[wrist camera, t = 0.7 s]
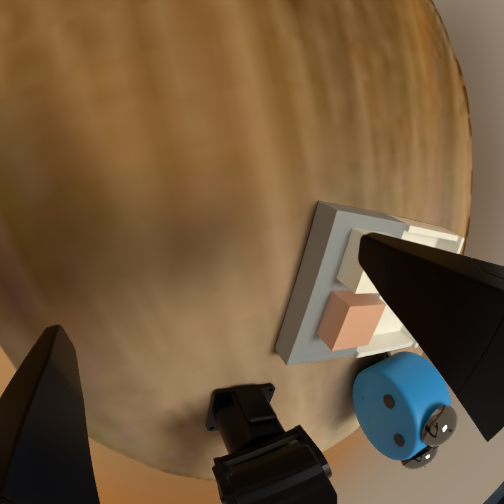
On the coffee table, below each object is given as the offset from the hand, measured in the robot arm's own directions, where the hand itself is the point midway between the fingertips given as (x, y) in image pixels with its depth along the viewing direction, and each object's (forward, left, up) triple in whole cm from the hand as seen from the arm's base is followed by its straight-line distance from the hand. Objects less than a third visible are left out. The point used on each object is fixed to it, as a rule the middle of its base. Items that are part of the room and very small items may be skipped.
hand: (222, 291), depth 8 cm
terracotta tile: (-8, -15, -11) cm, 20 cm away
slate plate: (-6, -15, -13) cm, 21 cm away
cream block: (-3, -15, -11) cm, 19 cm away
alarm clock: (-20, -27, -13) cm, 37 cm away
